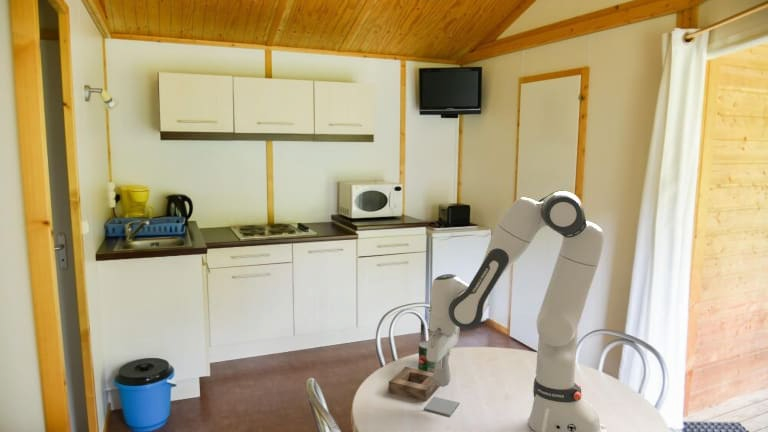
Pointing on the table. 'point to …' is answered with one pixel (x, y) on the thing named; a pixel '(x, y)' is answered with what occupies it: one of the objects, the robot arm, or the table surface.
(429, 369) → the canned tomato
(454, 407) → the coaster
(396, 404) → the table surface
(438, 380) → the salt shaker
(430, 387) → the socket block
